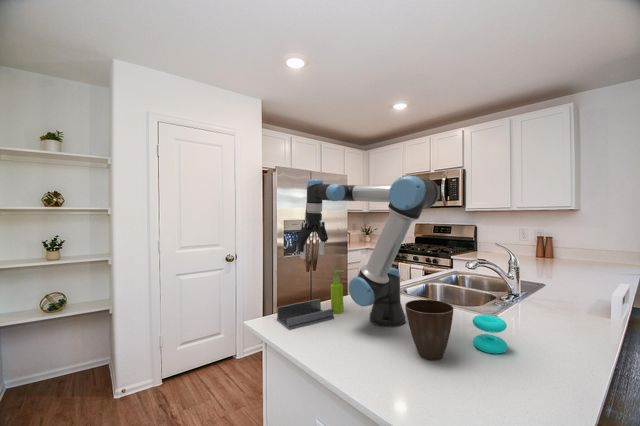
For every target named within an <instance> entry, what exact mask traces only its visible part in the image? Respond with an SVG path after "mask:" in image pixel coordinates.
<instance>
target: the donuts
mask: <svg viewBox="0 0 640 426" xmlns="http://www.w3.org/2000/svg"><path fill="white" fill-rule="evenodd" d="M472 324H473V326H474V327H475V328H476V329H478V330H480V331H481V332H482V331H483V332H484V333H482V334H481V333H480V334H478V335H476V336H475V337H473V341H472V343H473V345H474V346H475V348H477V349H478V350H480V351H481V352H485V353H488V354H496V355H497V354H503V353H505V352H506V351H507V350H508V344H507V342H506V341H505V340H504V339H503V338H501V337H500V336H497V335H495V334H497V333H502V332H504V331H505V330H506V329H507V322H506V321H505V320H504V319H503V318H501V317H498V316H495V315H490V314H479V315H475V316H474V317H473V318H472ZM485 332H486V334H485ZM488 333H490V334H488ZM493 334H494V335H493Z"/></svg>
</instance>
